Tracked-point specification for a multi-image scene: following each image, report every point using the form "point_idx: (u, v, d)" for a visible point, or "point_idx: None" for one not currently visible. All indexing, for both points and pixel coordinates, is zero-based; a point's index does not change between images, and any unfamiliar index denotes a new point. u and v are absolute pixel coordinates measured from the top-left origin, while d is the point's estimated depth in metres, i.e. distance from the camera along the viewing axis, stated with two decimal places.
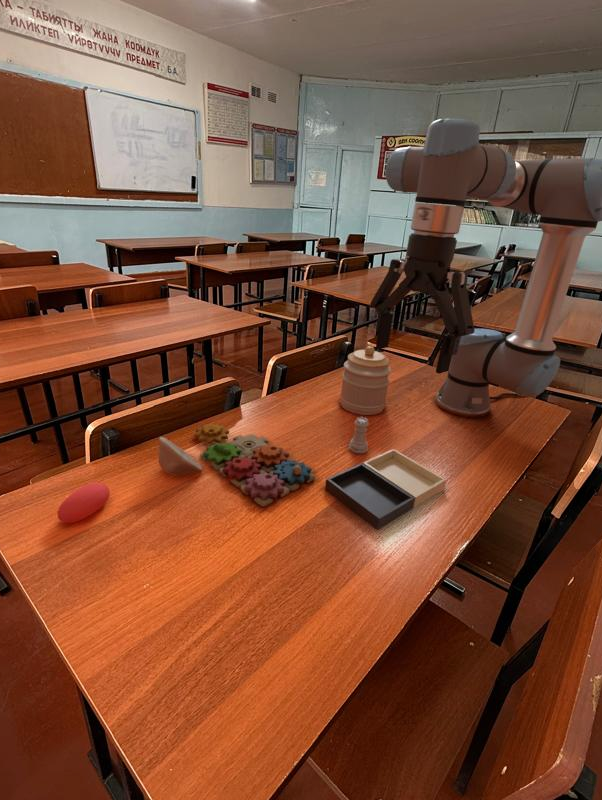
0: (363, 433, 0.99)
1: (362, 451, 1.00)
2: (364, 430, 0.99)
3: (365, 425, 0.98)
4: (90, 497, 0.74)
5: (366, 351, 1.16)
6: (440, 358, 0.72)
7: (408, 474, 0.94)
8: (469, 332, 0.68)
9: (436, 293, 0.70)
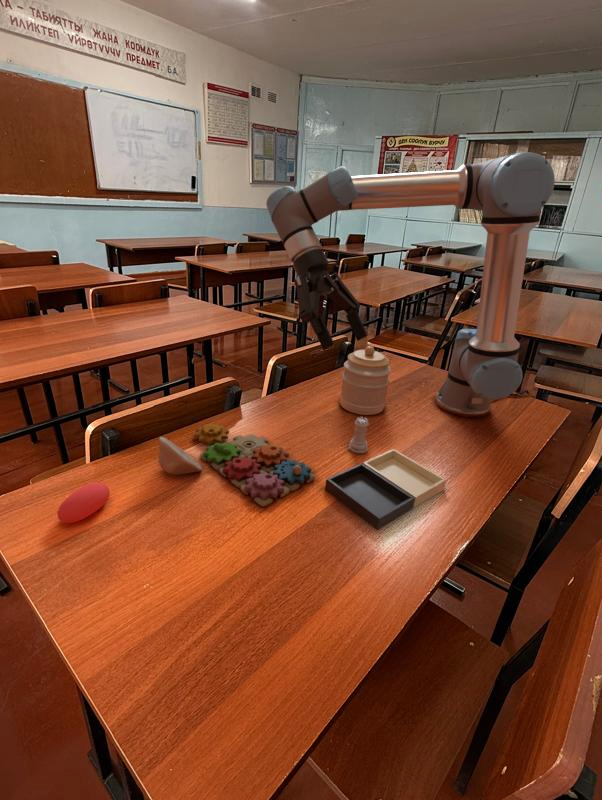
0: (363, 433, 0.99)
1: (362, 451, 1.00)
2: (364, 430, 0.99)
3: (365, 425, 0.98)
4: (90, 497, 0.74)
5: (366, 351, 1.16)
6: (319, 338, 0.92)
7: (408, 474, 0.94)
8: (303, 315, 0.89)
9: None
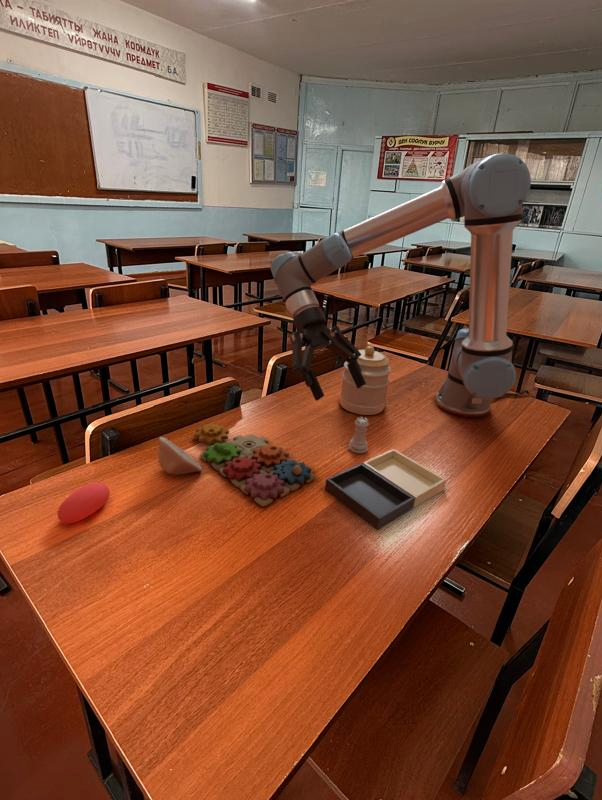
0: (363, 433, 0.99)
1: (362, 451, 1.00)
2: (364, 430, 0.99)
3: (365, 425, 0.98)
4: (90, 497, 0.74)
5: (366, 351, 1.16)
6: None
7: (408, 474, 0.94)
8: (294, 370, 0.98)
9: (304, 349, 1.03)
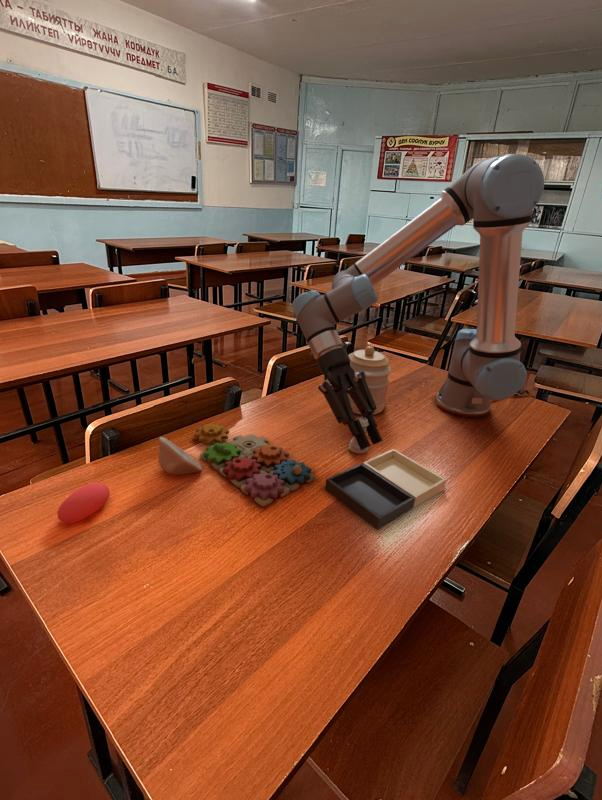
0: None
1: (362, 451, 1.00)
2: (364, 430, 0.99)
3: (365, 425, 0.98)
4: (90, 497, 0.74)
5: (366, 351, 1.16)
6: None
7: (408, 474, 0.94)
8: (340, 420, 0.97)
9: None
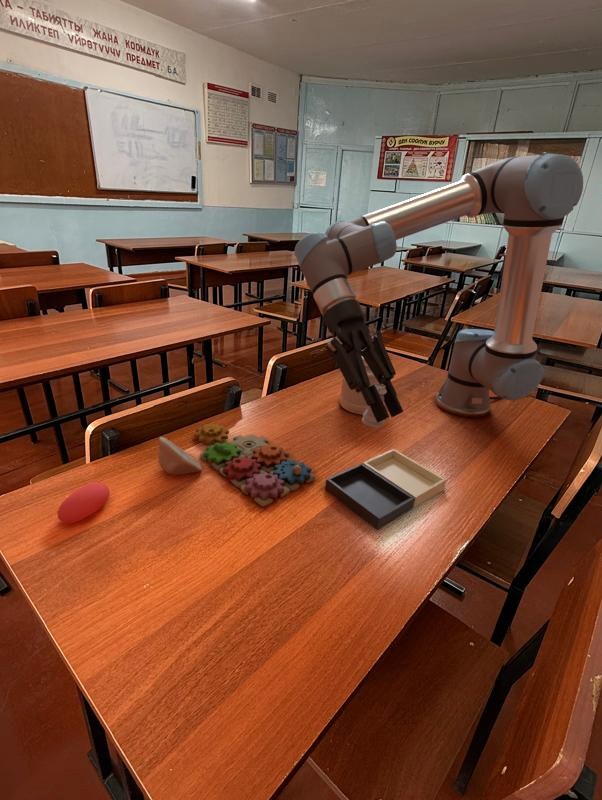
0: None
1: (378, 425, 0.83)
2: (381, 399, 0.82)
3: (382, 392, 0.81)
4: (90, 497, 0.74)
5: None
6: None
7: (408, 474, 0.94)
8: (352, 385, 0.79)
9: None
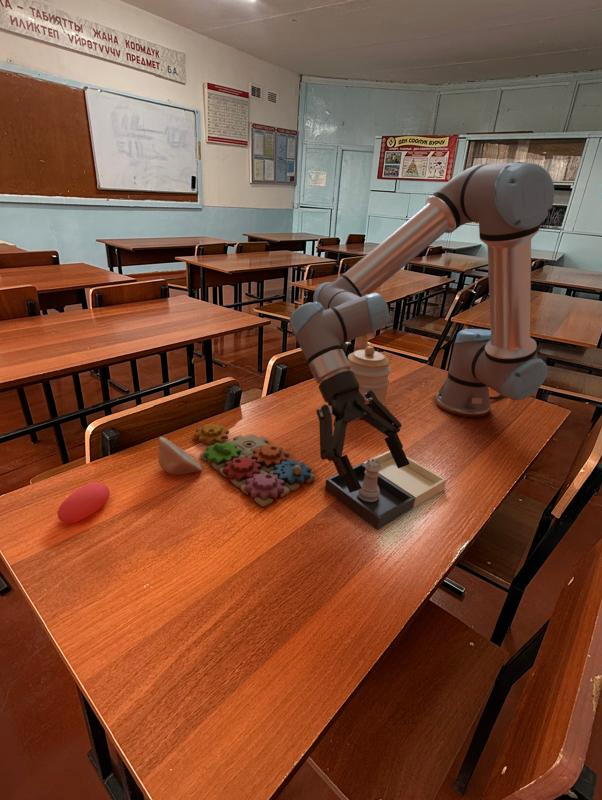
0: (375, 479, 0.83)
1: (373, 499, 0.84)
2: (376, 475, 0.82)
3: (377, 470, 0.82)
4: (90, 497, 0.74)
5: (366, 351, 1.16)
6: None
7: (408, 474, 0.94)
8: (323, 456, 0.77)
9: (334, 424, 0.83)
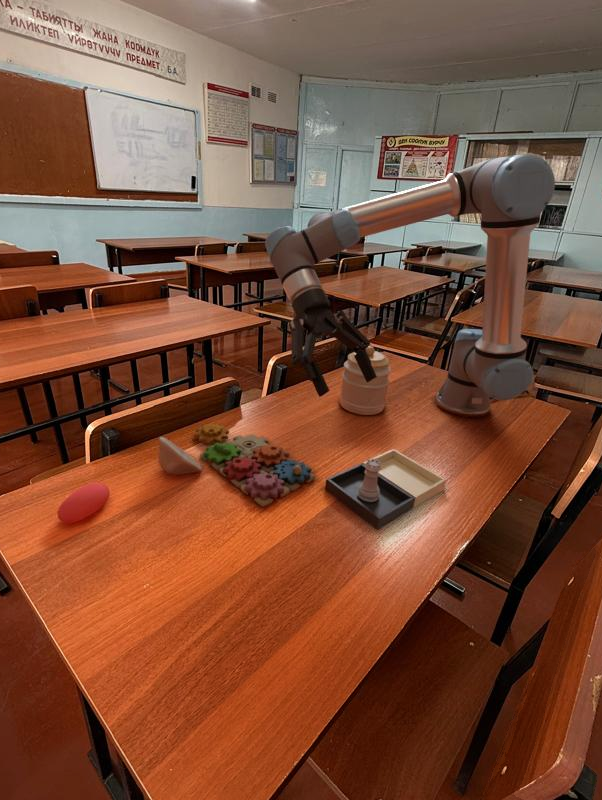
0: (375, 479, 0.83)
1: (373, 499, 0.84)
2: (376, 475, 0.82)
3: (377, 470, 0.82)
4: (90, 497, 0.74)
5: (366, 351, 1.16)
6: None
7: (408, 474, 0.94)
8: (294, 361, 0.84)
9: (305, 338, 0.89)
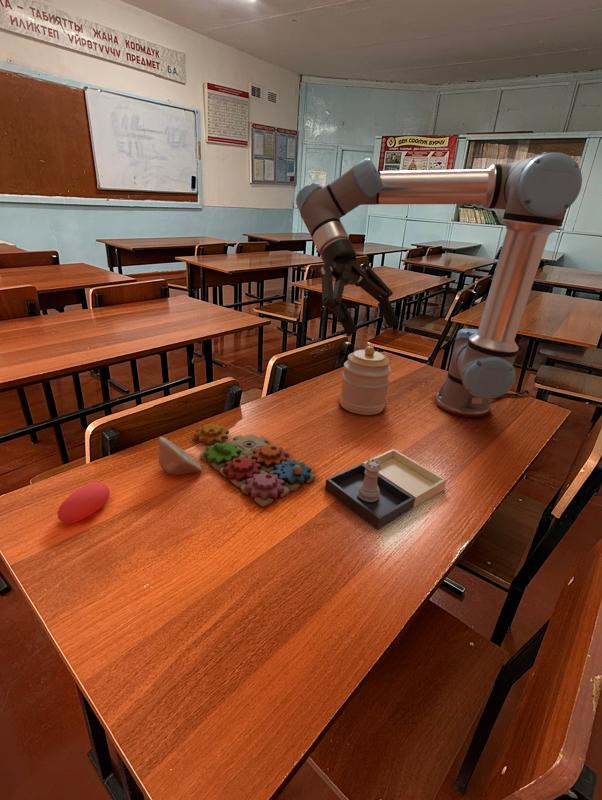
0: (375, 479, 0.83)
1: (373, 499, 0.84)
2: (376, 475, 0.82)
3: (377, 470, 0.82)
4: (90, 497, 0.74)
5: (366, 351, 1.16)
6: None
7: (408, 474, 0.94)
8: (325, 302, 0.91)
9: (334, 285, 0.97)
